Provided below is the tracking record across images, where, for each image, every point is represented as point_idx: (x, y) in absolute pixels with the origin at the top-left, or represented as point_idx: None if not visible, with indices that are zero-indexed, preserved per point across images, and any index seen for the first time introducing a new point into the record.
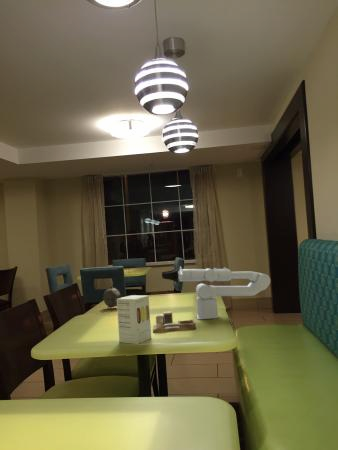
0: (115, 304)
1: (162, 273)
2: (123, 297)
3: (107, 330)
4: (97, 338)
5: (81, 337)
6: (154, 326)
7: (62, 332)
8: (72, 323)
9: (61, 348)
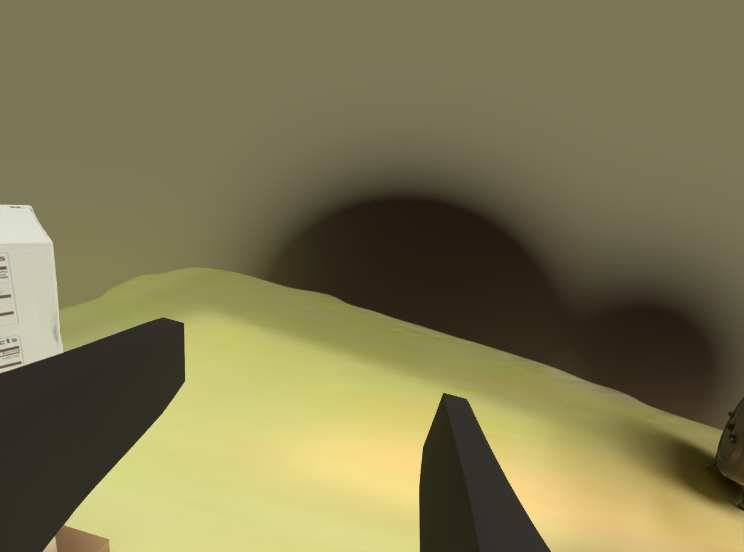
0: (726, 471)
1: (438, 414)
2: (25, 216)
3: (276, 378)
4: (189, 340)
5: (246, 322)
6: (65, 538)
7: (344, 312)
8: (447, 340)
9: (175, 286)
